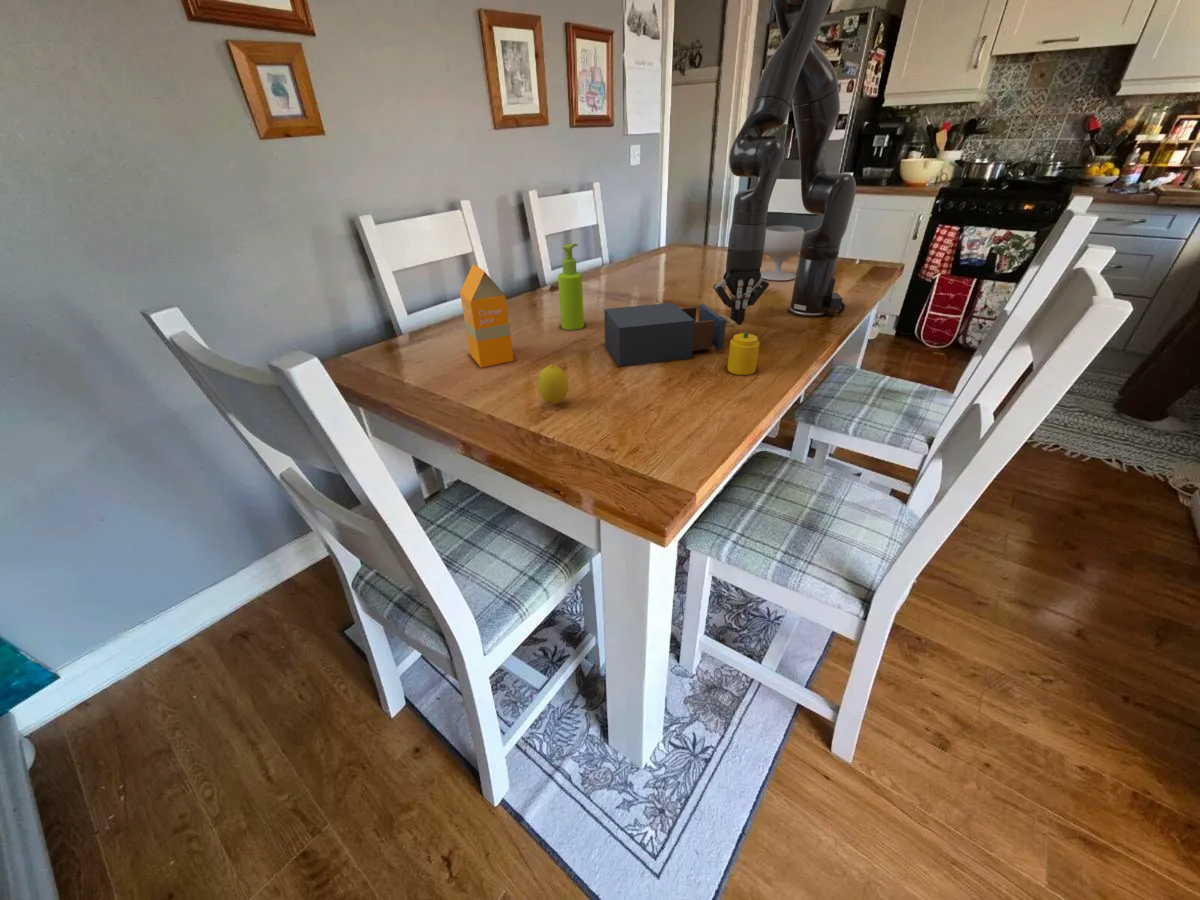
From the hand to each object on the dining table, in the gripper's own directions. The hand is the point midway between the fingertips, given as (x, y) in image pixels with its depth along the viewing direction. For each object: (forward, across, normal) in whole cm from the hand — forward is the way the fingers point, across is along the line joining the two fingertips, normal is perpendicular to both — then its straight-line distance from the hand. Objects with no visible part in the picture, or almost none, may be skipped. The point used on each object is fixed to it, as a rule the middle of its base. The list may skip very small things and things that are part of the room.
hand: (736, 323), depth 119 cm
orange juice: (+5, +56, -7) cm, 57 cm away
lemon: (+5, +46, +20) cm, 51 cm away
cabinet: (+4, +22, 0) cm, 22 cm away
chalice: (+4, -40, -51) cm, 65 cm away
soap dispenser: (+4, +34, -23) cm, 42 cm away
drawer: (+3, +11, 0) cm, 12 cm away
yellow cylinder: (+4, +6, +15) cm, 17 cm away
